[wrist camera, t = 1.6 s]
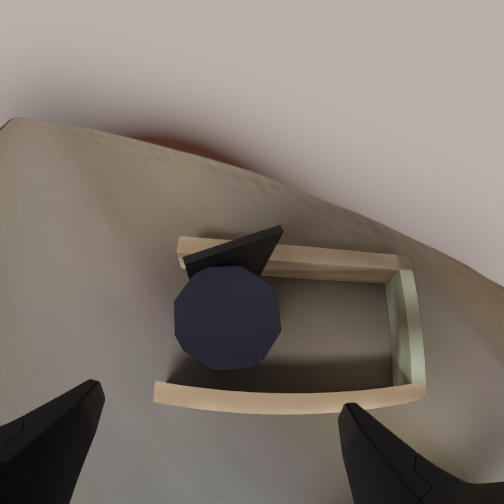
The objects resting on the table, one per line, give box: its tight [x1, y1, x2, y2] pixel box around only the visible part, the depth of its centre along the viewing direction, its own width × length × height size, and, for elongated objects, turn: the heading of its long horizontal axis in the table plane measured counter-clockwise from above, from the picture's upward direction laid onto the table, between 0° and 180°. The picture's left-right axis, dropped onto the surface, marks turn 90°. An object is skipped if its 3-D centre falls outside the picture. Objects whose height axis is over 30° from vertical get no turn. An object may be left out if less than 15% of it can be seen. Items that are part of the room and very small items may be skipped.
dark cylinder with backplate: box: [174, 225, 283, 370], centre depth 17 cm, size 8×6×10 cm
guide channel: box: [153, 236, 426, 414], centre depth 21 cm, size 13×20×3 cm, turn 87°
